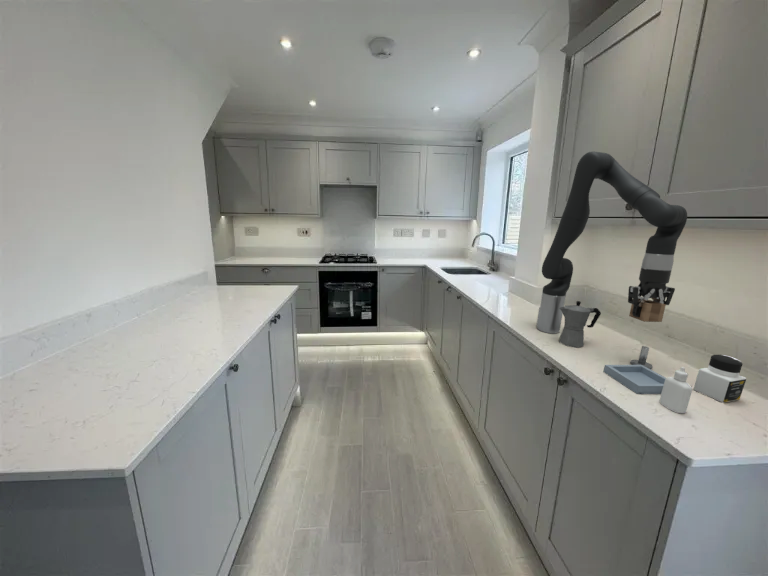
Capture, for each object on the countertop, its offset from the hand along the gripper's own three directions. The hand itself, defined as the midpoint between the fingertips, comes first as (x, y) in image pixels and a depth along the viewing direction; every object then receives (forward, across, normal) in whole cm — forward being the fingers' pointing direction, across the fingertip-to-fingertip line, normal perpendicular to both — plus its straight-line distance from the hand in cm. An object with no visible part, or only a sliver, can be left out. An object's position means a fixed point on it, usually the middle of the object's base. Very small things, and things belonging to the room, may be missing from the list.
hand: (645, 316), depth 102 cm
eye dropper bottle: (+19, +11, +24) cm, 32 cm away
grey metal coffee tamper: (+18, -2, 0) cm, 18 cm away
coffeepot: (+18, +10, -19) cm, 28 cm away
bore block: (+1, 0, 0) cm, 1 cm away
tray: (+18, +8, +11) cm, 23 cm away
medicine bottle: (+19, -9, +18) cm, 27 cm away
